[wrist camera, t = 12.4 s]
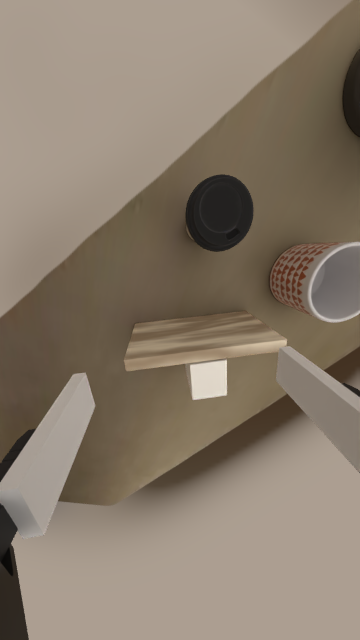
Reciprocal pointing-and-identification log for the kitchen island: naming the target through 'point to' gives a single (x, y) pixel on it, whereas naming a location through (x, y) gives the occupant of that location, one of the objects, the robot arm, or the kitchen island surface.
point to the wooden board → (199, 340)
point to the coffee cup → (219, 213)
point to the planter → (319, 280)
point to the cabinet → (207, 378)
